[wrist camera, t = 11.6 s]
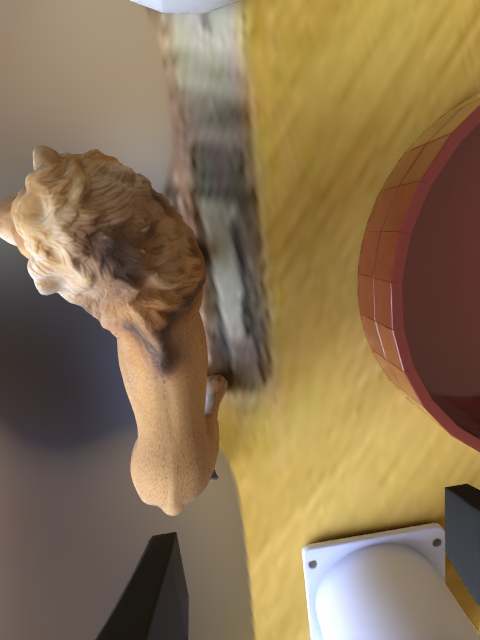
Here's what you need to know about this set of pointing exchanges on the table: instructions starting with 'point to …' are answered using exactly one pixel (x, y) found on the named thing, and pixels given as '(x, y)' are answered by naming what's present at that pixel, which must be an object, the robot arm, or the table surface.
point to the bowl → (429, 274)
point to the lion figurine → (129, 304)
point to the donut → (184, 5)
